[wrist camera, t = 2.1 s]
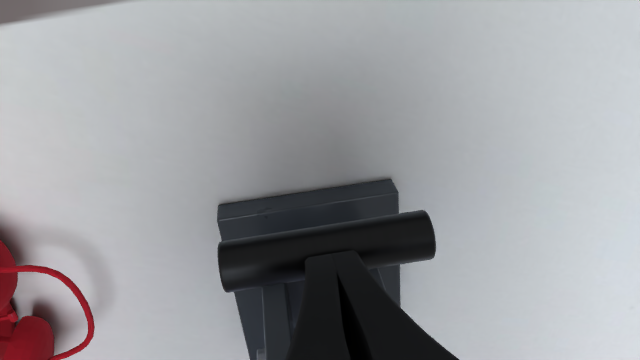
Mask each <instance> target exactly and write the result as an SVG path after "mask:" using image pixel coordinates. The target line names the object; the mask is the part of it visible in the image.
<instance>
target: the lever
mask: <svg viewBox="0 0 640 360" xmlns="http://www.w3.org/2000/svg"><path fill="white" fill-rule="evenodd" d="M352 250H354V251H355V252H357V253H358V254H359V256H360V258H361V259H362V261H363V262H364V264H365V265H366V267H367V268H368V269H375V268H381V267H387V266H393V265H399V264H405V263H411V262H417V261H424V260H430V259H432V258H434V256H435V251H436V241H435V234H434V229H433V225H432V222H431V220H430V217H429V215H428V214H427V212H426V211H424V210H419V211H413V212H406V213H400V214H394V215H387V216H381V217H374V218H368V219H362V220H355V221H349V222H343V223H336V224H330V225H323V226H317V227H311V228H304V229H298V230H291V231H285V232H279V233H272V234H266V235H259V236H253V237H247V238H240V239H234V240H227V241H221V242H219V244H218V265H219V273H220V278H221V283H222V286H223V289H224V290H225V292H234V291H240V290H246V289H252V288H259V287H265V286H271V285H277V284H283V283H289V282H295V281H301V280H305V261H306V259H307V258H308V257H314V256H320V255H327V254H333V253H339V252H345V251H352Z"/></svg>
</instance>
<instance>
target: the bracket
mask: <svg viewBox="0 0 640 360" xmlns="http://www.w3.org/2000/svg"><path fill="white" fill-rule="evenodd" d="M394 214H399V198H398V191H397V189H396V187H395V185H394V183H393V181H392V180H391V179H389V180H383V181H376V182H370V183H363V184H356V185H350V186H343V187H337V188H330V189H323V190H317V191H310V192H304V193H297V194H290V195H284V196H277V197H271V198H264V199H257V200H251V201H244V202H238V203H231V204H224V205H219V206H218V213H217V222H218V226H219V231H220V235H221V239H222V241H227V240H234V239H240V238H247V237H253V236H259V235H266V234H272V233H279V232H285V231H291V230H298V229H304V228H311V227H317V226H323V225H330V224H336V223H343V222H349V221H355V220H362V219H368V218H374V217H381V216H387V215H394ZM369 271H370V272H371V274H372V275H373V276H374V277H375V279H376V280H377V281H378V283H379V284H380V285H381V286H382V287H383V289H384V290H385V291H386V292H387V293H388V294H389V295H390V297H391V298H392V299H393V300H394V301H395V302H396V303H397V304H398V305H399V307H400V264H399V265H393V266H387V267H381V268H375V269H369ZM304 284H305V280H301V281H295V282H289V283H283V284H277V285H271V286H265V287H259V288H252V289H246V290H240V291H234V294H235V298H236V302H237V306H238V311H239V315H240V319H241V323H242V327H243V332H244V336H245V340H246V344H247V348H248V353H249V357H250V360H285V358H286V355H287V352H288V349H289V346H290V343H291V340H292V337H293V333H294V330H295V327H296V323H297V320H298V316H299V311H300V306H301V302H302V297H303V291H304Z"/></svg>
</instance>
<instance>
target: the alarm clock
mask: <svg viewBox="0 0 640 360" xmlns="http://www.w3.org/2000/svg"><path fill="white" fill-rule="evenodd" d="M17 272H40V273H45V274H49V275H51V276H53V277H56V278H58V279H60V280H61V281H62V282H63V283H64V284H65V285H67V286H68V287H69V288H70V289H71V291H72V292H73V293H74V294H75V296H76V297H77V299H78V300H79V302H80V304H81V306H82V308H83V310H84V312H85V315H86V318H87V321H88V334H87V337H86V339H85V340H84V342H82V343H81V344H80V345H79V346H77V347H75V348H73V349H71V350H69V351H67V352H64V353H61V354H58V355H55V356H53V355H54V335H53V332H52V328H51V326H50V325H49V323H48V322H47V321H45V320H44V319H42V318H40V317H35V316H25V317H22V319H21V320H20V321H19V323H18V324H17V326H16V327H15V322H16V321H17V320H18V316H17V314H16V312H15V311H14V310H13V309H12V306H11V304H10V302H9V301H10V300H11V298H12V296H13V294H14V292H15V289H16V286H17V281H18V273H17ZM93 334H94V320H93V316H92V313H91V310H90V307H89V305H88V302H87V301H86V299H85V298H84V296H83V294H82V293H81V291H80V290H79V288H78V287H77V286H76V285H75V284H74V283H73V282H72V281H71V280H70V279H69V278H68V277H66V276H65V275H63V274H62V273H60V272H59V271H56V270H53V269H50V268H48V267H42V266H33V265H25V266H16V263H15V260H14V258H13V256H12V255H11V253H10V251H9V250H8V248H7V247H6V246H5V244H4V243H3V242H2V241H1V240H0V360H60V359H63V358H67V357H69V356H71V355H73V354H75V353H77V352H80V351H81V350H82V349H84V348H85V347H86V346H87V345H88V344H89V343H90V341H91V339H92V338H93Z"/></svg>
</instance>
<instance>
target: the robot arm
mask: <svg viewBox="0 0 640 360" xmlns="http://www.w3.org/2000/svg"><path fill="white" fill-rule="evenodd" d="M285 360H459V359H458V358H456V357H455V356H454V355H453V354H451V353H450V352H449V351H448V350H446V349H445V348H444V347H442V346H441V345H440V344H439V343H438V342H436V341H435V340H434V339H433V338H432V337H431V336H429V335H428V334H427V333H426V332H425V331H424V330H423V329H422V328H421V327H420V326H418V325H417V324H416V323H415V322H414V321H413V320H412V319H411V318H410V317H409V316H408V315H407V314H406V313H405V312H404V311H403V310H402V309H401V308H400V307H399V305H398V304H397V303H396V302H395V301H394V300H393V299H392V298H391V297H390V295H389V294H388V293H387V292H386V291H385V290H384V289H383V287H382V286H381V285H380V284H379V283H378V281H377V280H376V279H375V277H374V276H373V275H372V274H371V272H370V271H369V269H368V268H367V267H366V265H365V264H364V262H363V261H362V259H361V258H360V256H359V254H358V253H357V252H355V251H354V250H352V251H345V252H339V253H333V254H327V255H320V256H314V257H308V258H307V259H306V261H305V284H304V291H303V297H302V302H301V306H300V311H299V316H298V320H297V323H296V327H295V330H294V333H293V337H292V340H291V343H290V346H289V349H288V352H287V355H286V358H285Z"/></svg>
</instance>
